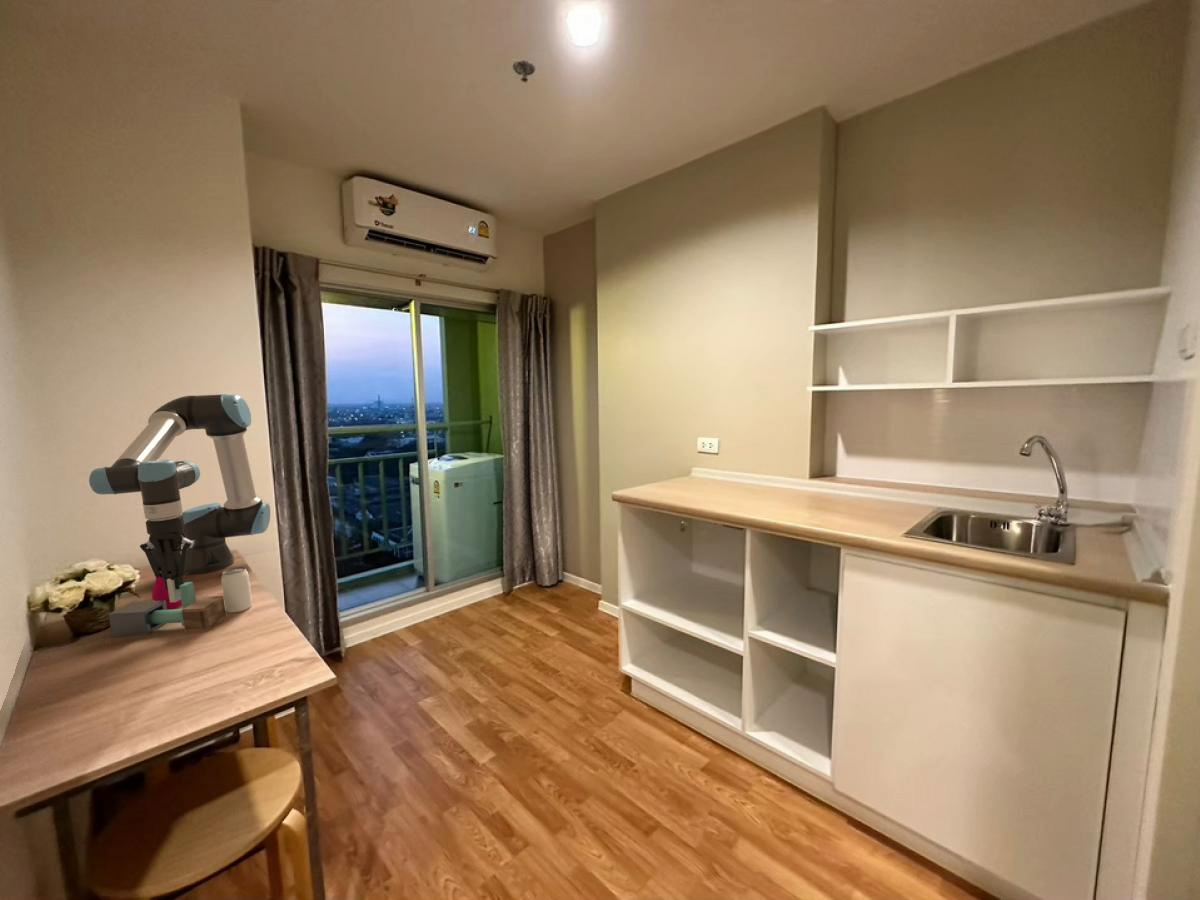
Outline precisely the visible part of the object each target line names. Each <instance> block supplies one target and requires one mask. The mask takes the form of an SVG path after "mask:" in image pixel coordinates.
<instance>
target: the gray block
mask: <svg viewBox="0 0 1200 900" xmlns="http://www.w3.org/2000/svg"><path fill="white" fill-rule="evenodd" d="M155 610H167V606H166V600H160V601H154V600H147V601H145V600H143V601H132V602H128V603H127V604H125V605H124V606H121V607H119V608H117V609H115V610H113V611H111V612H109V613H108V619H109V625H110V630H111V631H110V632H111V636H112V637H113V638H116V637H117V638H119V637H131V636H133V637H134V636H148V635H150V634H152V633H153V632H155V631H156V630H159V629H160V628H162V627H163V626H165V625H167V624H168V623H164V624H150V621H149V615H148V612H150V611H155Z"/></svg>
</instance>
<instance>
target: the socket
mask: <svg viewBox="0 0 1200 900" xmlns="http://www.w3.org/2000/svg"><path fill="white" fill-rule="evenodd" d="M181 609H182V615H183V621H184V626H183V627H184V633H185V634H193V633H196V634H197V633H207V632H208V631H210V630H212V629H213V628H214V626H215V627H216V626H217V625H219V624H220V623H222V622H224V621H225V620H226V619H227V613H226V612H227V611H226V608H225V602H224V595H219V596H218V595H217V596H216V595H214V596H203V597H201V598H199V599H196V602H194V603H192V604H190V605H189V606H187V607H185V608H183V607H182V608H181ZM221 621H222V622H221Z"/></svg>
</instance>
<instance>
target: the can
mask: <svg viewBox="0 0 1200 900" xmlns="http://www.w3.org/2000/svg"><path fill="white" fill-rule="evenodd" d="M221 574H222V576H221V578H220V581H221V588H222V596H223V597H224V604H225V611H226V612H227V613H228V614H234V613H235V614H236V612H237V613H240V612H244V611H246V610H248V609H250V608H251V607H252V606H253V597H252V591H251V590H252V588H251V585H250V584H251V583H250V575H249V572H248V570H247V568H246V566H237V567H232V568H228V569H226V570H223V571H222V573H221Z"/></svg>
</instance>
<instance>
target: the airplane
mask: <svg viewBox="0 0 1200 900" xmlns="http://www.w3.org/2000/svg"><path fill="white" fill-rule="evenodd" d="M179 587H180V594H181V600H182V605H181V606H182V608H179V609H178V608H175V609H172V610H155V611H150V612H148V615H149V621H150V624H164V623H167V624H175V623H176V624H177V623H178V624H179V623H181V627H184V621H183V615H182V609H183V608H185V607H187V606H189V605H190V604H192V603H194V602H196V601H197V598H196V593H195V591H196V590H195V586H194V582H193V581H186V582H183V584H182V585H180V586H179Z"/></svg>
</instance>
